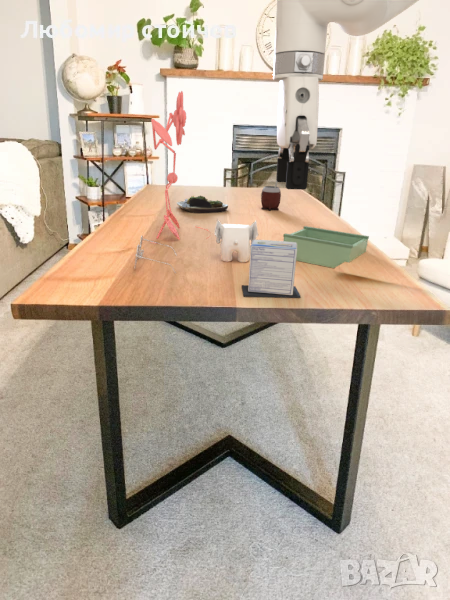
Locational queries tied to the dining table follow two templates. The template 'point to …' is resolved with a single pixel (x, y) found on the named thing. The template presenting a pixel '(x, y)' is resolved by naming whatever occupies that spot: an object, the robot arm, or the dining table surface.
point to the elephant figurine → (235, 240)
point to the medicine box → (272, 267)
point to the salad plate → (202, 205)
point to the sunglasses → (143, 252)
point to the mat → (257, 294)
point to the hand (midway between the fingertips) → (290, 185)
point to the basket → (327, 246)
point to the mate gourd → (270, 197)
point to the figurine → (179, 123)
